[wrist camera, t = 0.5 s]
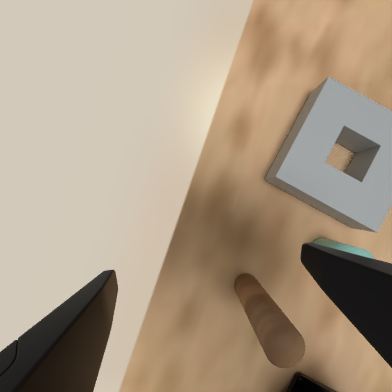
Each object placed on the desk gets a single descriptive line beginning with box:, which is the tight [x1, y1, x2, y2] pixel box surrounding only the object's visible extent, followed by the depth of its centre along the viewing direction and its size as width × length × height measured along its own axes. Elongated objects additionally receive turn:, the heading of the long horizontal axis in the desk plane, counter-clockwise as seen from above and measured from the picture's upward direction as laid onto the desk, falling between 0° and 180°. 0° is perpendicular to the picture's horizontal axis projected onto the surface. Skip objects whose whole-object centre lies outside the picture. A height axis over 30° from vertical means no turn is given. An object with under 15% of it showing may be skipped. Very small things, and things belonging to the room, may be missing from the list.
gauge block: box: [264, 77, 392, 232], centre depth 21 cm, size 12×12×3 cm
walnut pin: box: [234, 274, 305, 368], centre depth 17 cm, size 3×3×9 cm
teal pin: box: [313, 238, 374, 259], centre depth 19 cm, size 3×3×5 cm
